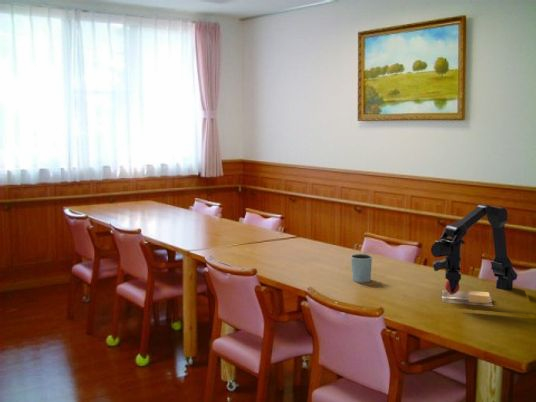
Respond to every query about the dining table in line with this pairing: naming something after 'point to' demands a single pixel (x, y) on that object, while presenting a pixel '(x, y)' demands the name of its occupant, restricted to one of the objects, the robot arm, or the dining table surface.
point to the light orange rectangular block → (479, 297)
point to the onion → (450, 289)
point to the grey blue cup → (361, 267)
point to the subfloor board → (461, 298)
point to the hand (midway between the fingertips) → (452, 290)
